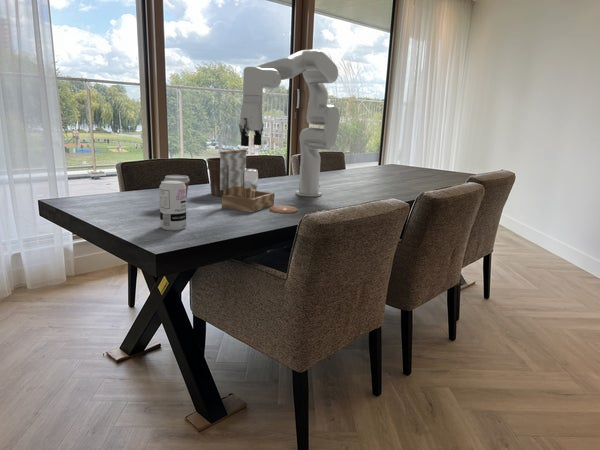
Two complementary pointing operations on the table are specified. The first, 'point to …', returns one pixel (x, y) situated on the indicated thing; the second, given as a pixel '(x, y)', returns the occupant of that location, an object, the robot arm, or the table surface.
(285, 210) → the saucer
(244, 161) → the open wooden box
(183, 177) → the disposable coffee cup
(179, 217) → the supplement can
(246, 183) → the beer glass
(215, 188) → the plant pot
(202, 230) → the table surface
